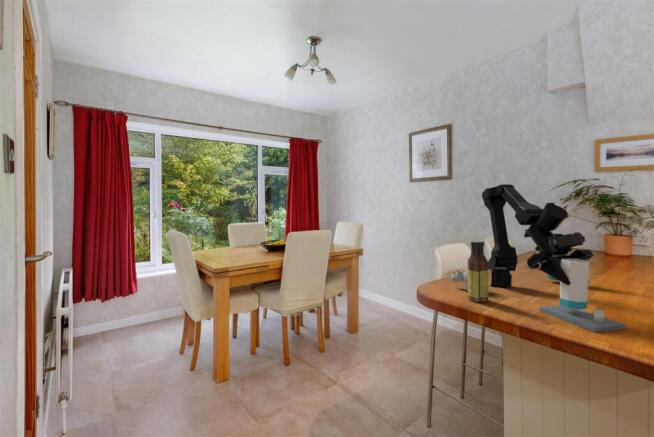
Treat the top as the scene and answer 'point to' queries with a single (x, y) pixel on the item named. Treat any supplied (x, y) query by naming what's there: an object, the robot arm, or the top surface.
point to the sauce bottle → (478, 273)
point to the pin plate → (584, 318)
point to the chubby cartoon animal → (460, 277)
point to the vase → (574, 283)
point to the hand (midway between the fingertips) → (578, 283)
